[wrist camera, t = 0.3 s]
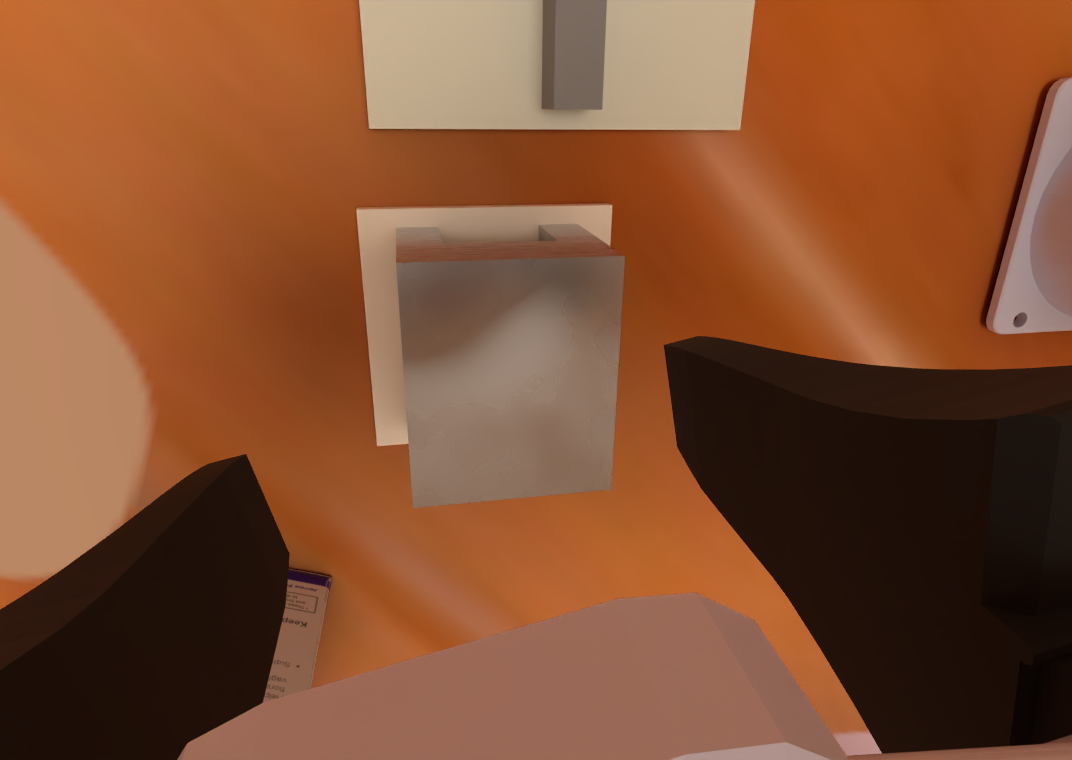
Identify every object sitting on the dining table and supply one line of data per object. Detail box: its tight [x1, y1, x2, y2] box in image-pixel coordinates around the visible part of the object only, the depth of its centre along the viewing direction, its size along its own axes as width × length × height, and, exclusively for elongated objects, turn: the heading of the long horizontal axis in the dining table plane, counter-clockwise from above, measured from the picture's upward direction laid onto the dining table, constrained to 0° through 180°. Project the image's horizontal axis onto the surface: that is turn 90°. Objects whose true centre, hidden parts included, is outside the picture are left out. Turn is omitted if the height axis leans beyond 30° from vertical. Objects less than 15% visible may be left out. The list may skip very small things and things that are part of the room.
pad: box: [356, 203, 612, 446], centre depth 20 cm, size 7×7×1 cm
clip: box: [396, 224, 625, 508], centre depth 18 cm, size 5×6×4 cm
